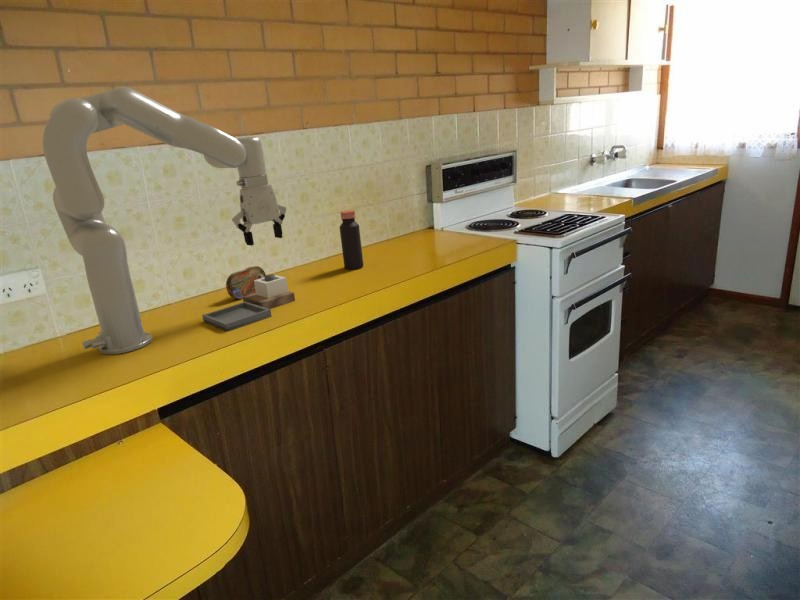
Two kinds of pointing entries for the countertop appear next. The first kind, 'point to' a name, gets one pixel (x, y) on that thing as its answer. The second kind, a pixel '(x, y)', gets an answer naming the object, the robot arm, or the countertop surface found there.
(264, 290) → the off-white open box
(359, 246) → the bottle
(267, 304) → the wooden stand
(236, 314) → the tray
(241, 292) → the tin
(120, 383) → the countertop surface
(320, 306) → the countertop surface
